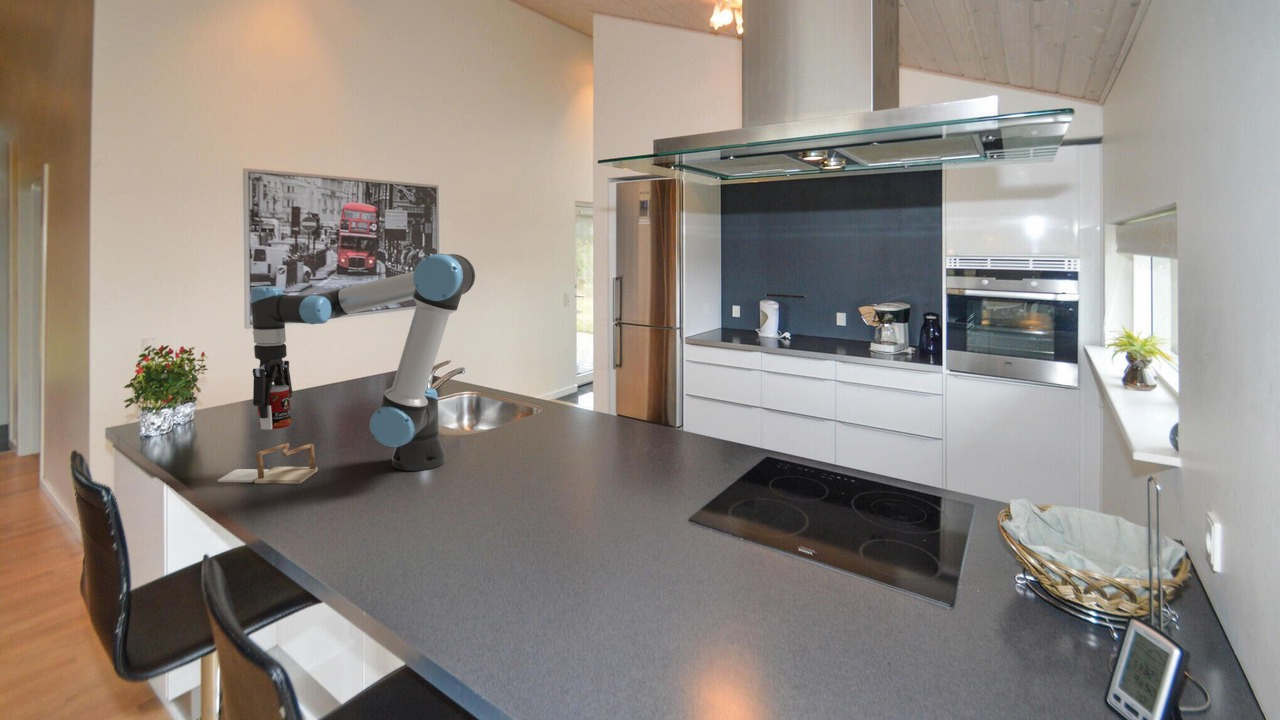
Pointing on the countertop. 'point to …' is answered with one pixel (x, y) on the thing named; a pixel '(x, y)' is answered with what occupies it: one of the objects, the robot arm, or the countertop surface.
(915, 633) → the countertop surface
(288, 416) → the canned food
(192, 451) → the countertop surface
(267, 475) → the wooden zigzag stand
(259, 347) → the robot arm
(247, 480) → the coaster
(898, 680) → the countertop surface
